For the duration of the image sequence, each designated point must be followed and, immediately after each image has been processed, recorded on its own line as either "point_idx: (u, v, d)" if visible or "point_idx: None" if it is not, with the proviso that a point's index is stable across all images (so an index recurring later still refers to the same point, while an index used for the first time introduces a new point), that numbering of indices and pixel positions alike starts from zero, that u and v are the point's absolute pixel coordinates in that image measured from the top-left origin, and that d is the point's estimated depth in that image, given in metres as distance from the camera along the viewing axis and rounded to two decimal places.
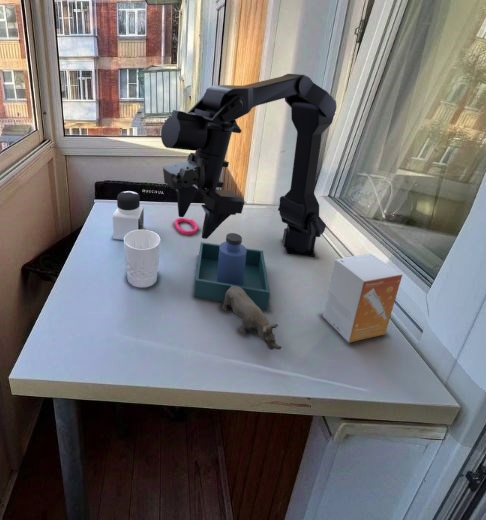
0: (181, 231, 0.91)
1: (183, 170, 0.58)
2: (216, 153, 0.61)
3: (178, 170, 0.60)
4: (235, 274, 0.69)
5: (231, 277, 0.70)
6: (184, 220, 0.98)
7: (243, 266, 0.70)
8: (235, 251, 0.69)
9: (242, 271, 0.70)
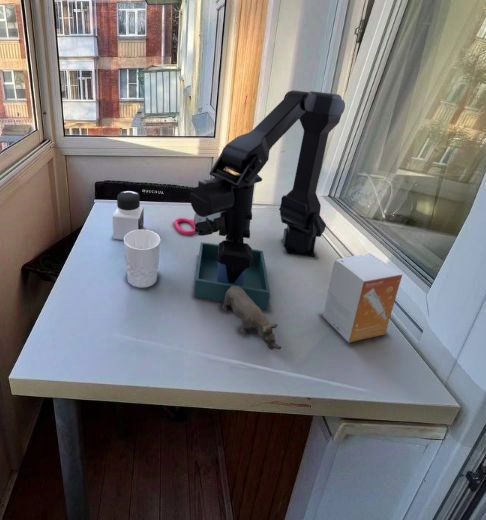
0: (181, 231, 0.91)
1: (199, 221, 0.67)
2: (244, 208, 0.65)
3: (201, 219, 0.69)
4: None
5: None
6: (184, 220, 0.98)
7: None
8: None
9: None
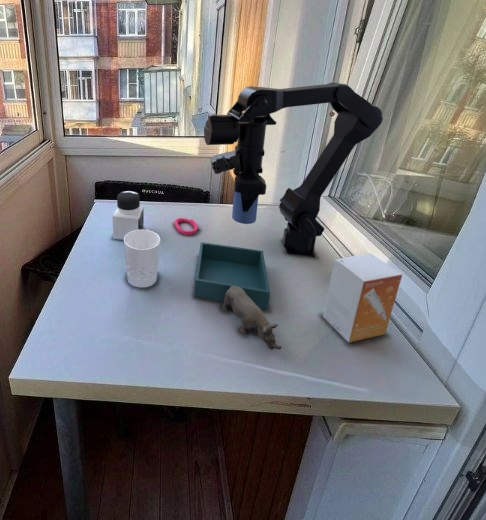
0: (181, 231, 0.91)
1: (216, 159, 0.75)
2: (251, 145, 0.72)
3: None
4: (249, 210, 0.77)
5: (246, 213, 0.77)
6: (184, 220, 0.98)
7: (256, 203, 0.77)
8: None
9: (255, 208, 0.78)
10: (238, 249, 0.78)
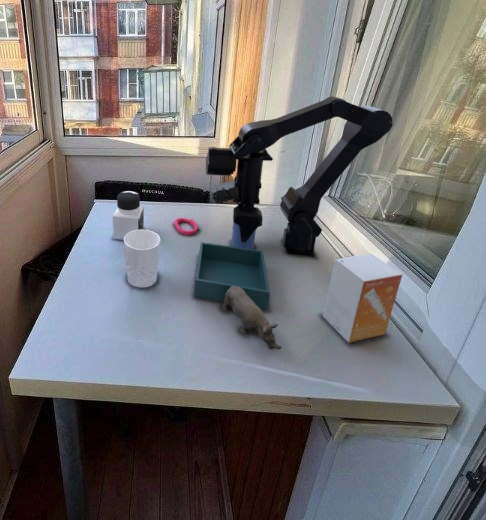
0: (181, 231, 0.91)
1: (216, 190, 0.80)
2: (247, 178, 0.78)
3: (218, 189, 0.82)
4: None
5: None
6: (184, 220, 0.98)
7: (254, 232, 0.83)
8: None
9: (253, 237, 0.83)
10: (238, 249, 0.78)
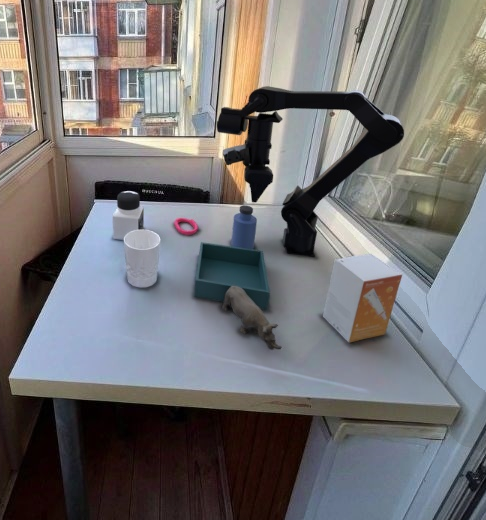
0: (181, 231, 0.91)
1: (228, 151, 0.83)
2: (252, 137, 0.81)
3: None
4: (247, 239, 0.83)
5: (244, 242, 0.83)
6: (184, 220, 0.98)
7: (254, 232, 0.83)
8: (247, 220, 0.83)
9: (253, 237, 0.83)
10: (238, 249, 0.78)
